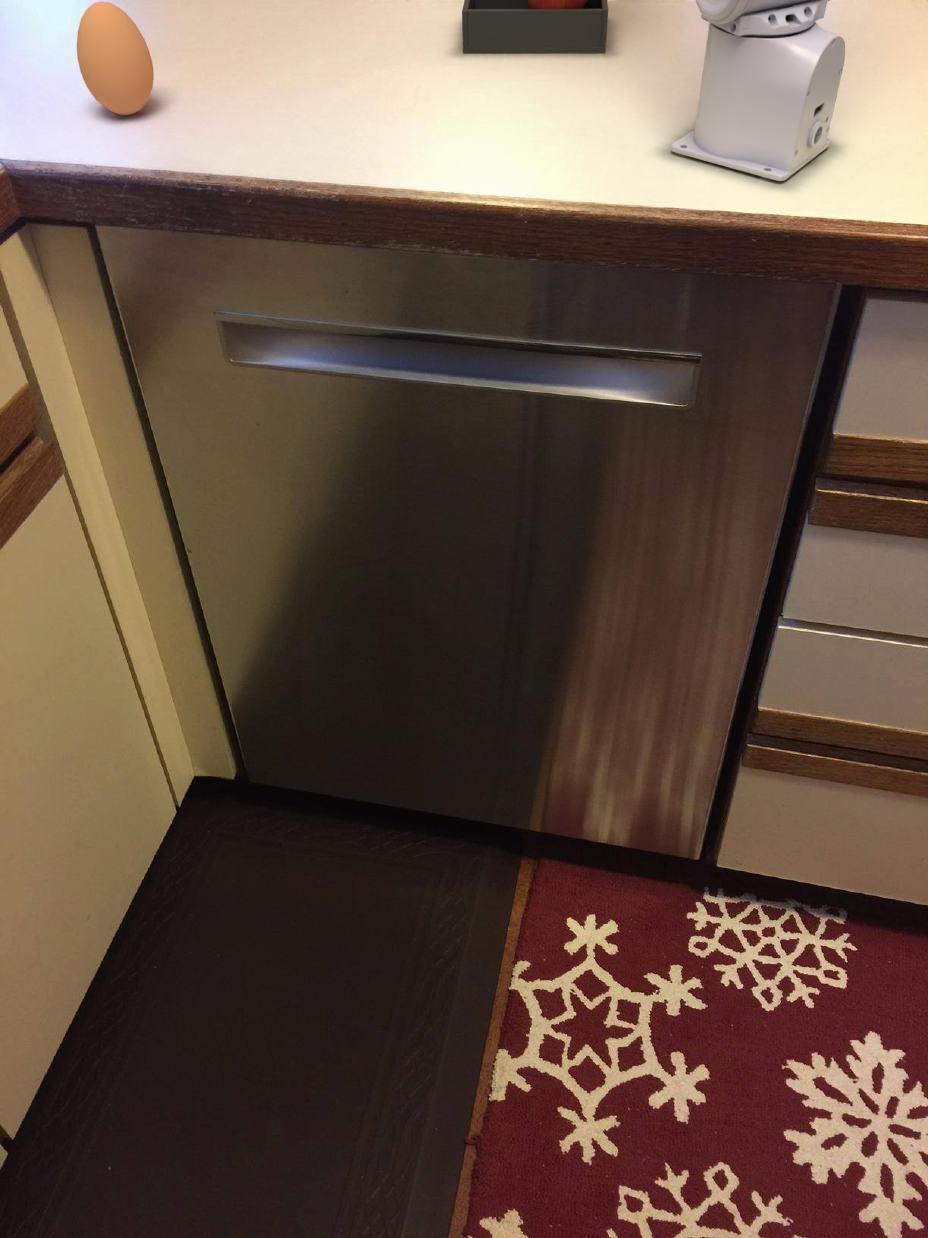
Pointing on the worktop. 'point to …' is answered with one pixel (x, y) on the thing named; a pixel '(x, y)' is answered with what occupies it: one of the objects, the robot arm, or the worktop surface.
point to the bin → (533, 27)
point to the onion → (557, 4)
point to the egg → (114, 59)
